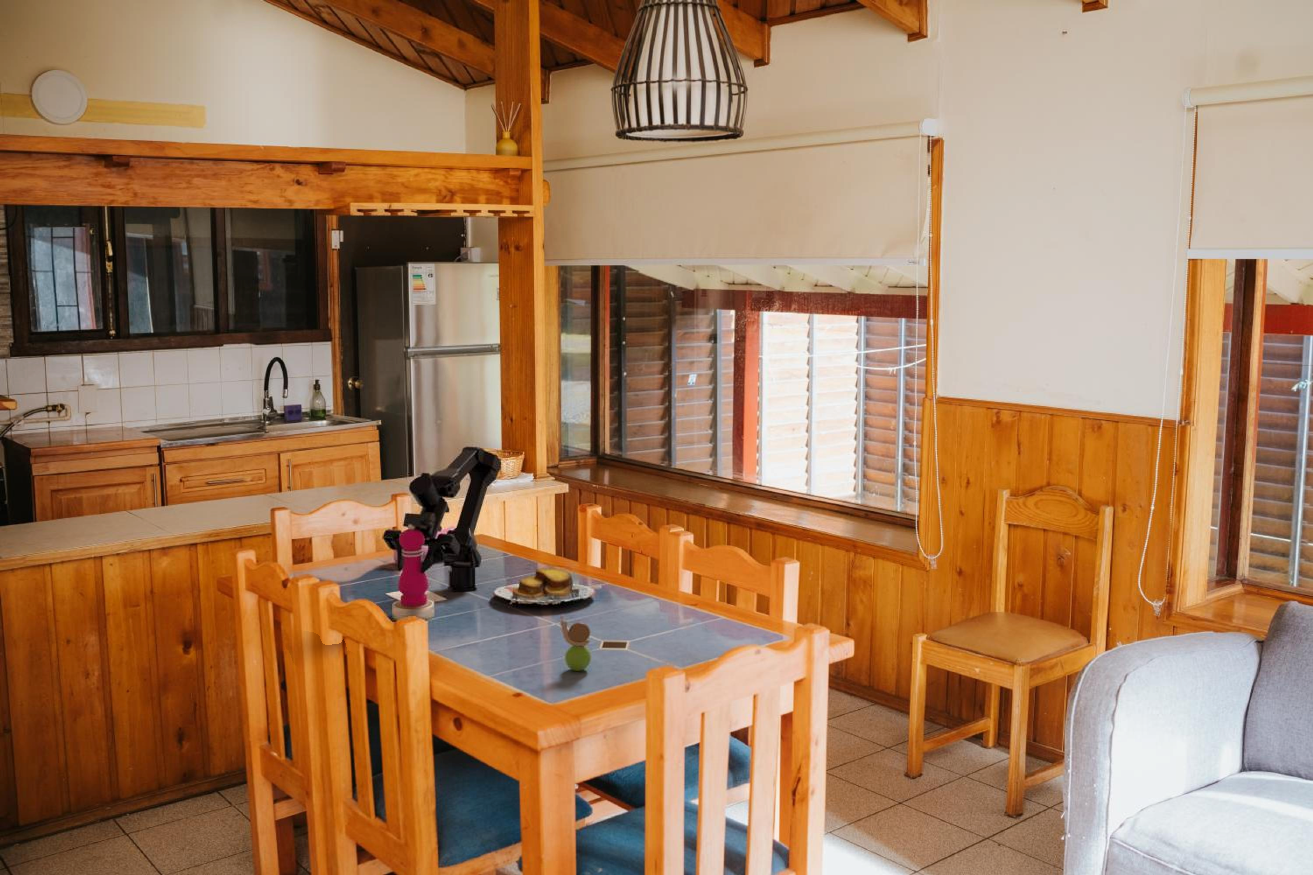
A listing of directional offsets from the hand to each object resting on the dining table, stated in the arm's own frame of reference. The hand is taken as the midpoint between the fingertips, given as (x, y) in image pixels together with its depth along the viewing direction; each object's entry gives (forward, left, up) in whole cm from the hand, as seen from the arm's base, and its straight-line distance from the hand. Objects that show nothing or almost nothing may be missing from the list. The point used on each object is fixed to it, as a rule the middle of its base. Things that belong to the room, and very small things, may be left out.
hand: (410, 571), depth 284 cm
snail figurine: (-28, +49, -12) cm, 57 cm away
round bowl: (-1, -1, -11) cm, 11 cm away
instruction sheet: (-4, -18, -11) cm, 22 cm away
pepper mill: (-1, -1, -8) cm, 9 cm away
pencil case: (-13, -57, -12) cm, 59 cm away
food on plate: (-35, -7, -12) cm, 37 cm away
